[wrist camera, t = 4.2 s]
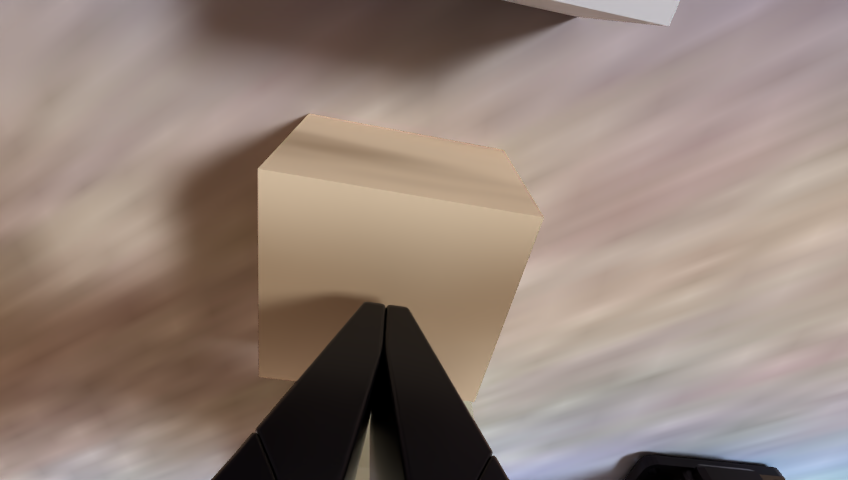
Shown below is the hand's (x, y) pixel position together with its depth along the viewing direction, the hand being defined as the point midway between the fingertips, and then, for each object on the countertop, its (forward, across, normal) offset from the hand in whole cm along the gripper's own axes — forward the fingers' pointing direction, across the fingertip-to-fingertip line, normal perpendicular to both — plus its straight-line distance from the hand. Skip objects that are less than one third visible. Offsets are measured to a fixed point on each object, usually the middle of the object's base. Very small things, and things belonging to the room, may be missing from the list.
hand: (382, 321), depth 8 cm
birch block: (+4, 0, 0) cm, 4 cm away
